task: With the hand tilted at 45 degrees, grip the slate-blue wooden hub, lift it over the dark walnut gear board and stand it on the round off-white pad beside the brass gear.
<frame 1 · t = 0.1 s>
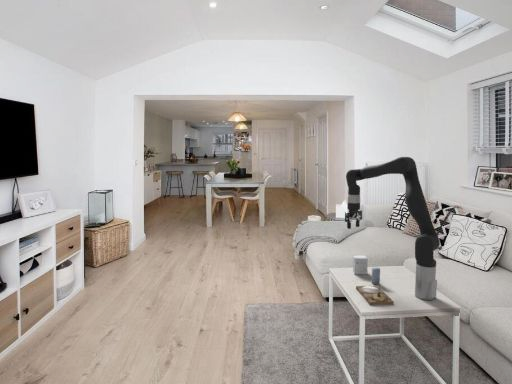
hand: (353, 227, 204), 29 cm above the table, tool pointing down, fingers open, 8 cm apart
gear hub: (375, 283, 190), on the table
gear board: (373, 296, 174), on the table
small box: (359, 273, 208), on the table
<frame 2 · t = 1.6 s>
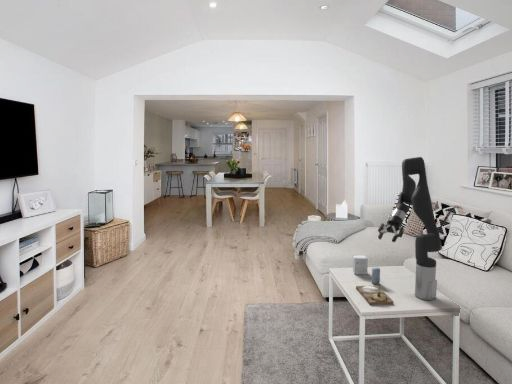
hand: (386, 240, 194), 24 cm above the table, tool tilted 45°, fingers open, 8 cm apart
nothing on the table moved.
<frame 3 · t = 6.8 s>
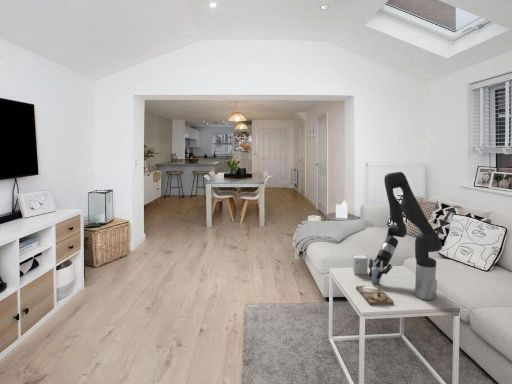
hand: (373, 277, 189), 4 cm above the table, tool tilted 45°, fingers closed on gear hub, 4 cm apart
gear hub: (375, 283, 190), on the table, touching gripper
everything else where it was.
when the fingers open (7 cm above the table, at t = 13.4 s): gear hub drops 1 cm, resting on gear board.
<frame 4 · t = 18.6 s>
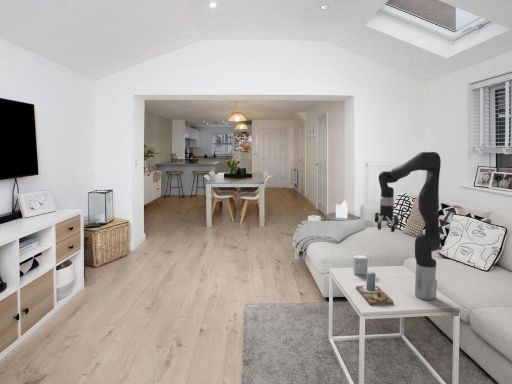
hand: (385, 230, 200), 28 cm above the table, tool pointing down, fingers open, 8 cm apart
gear hub: (370, 289, 178), point 2 cm above the table, touching gear board
everything else where it was.
at the end: gear hub 0.1 cm from the target spot on the gear board, point 1.7 cm above the gear board's base; gear hub tilted 1°; the gripper is holding nothing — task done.
